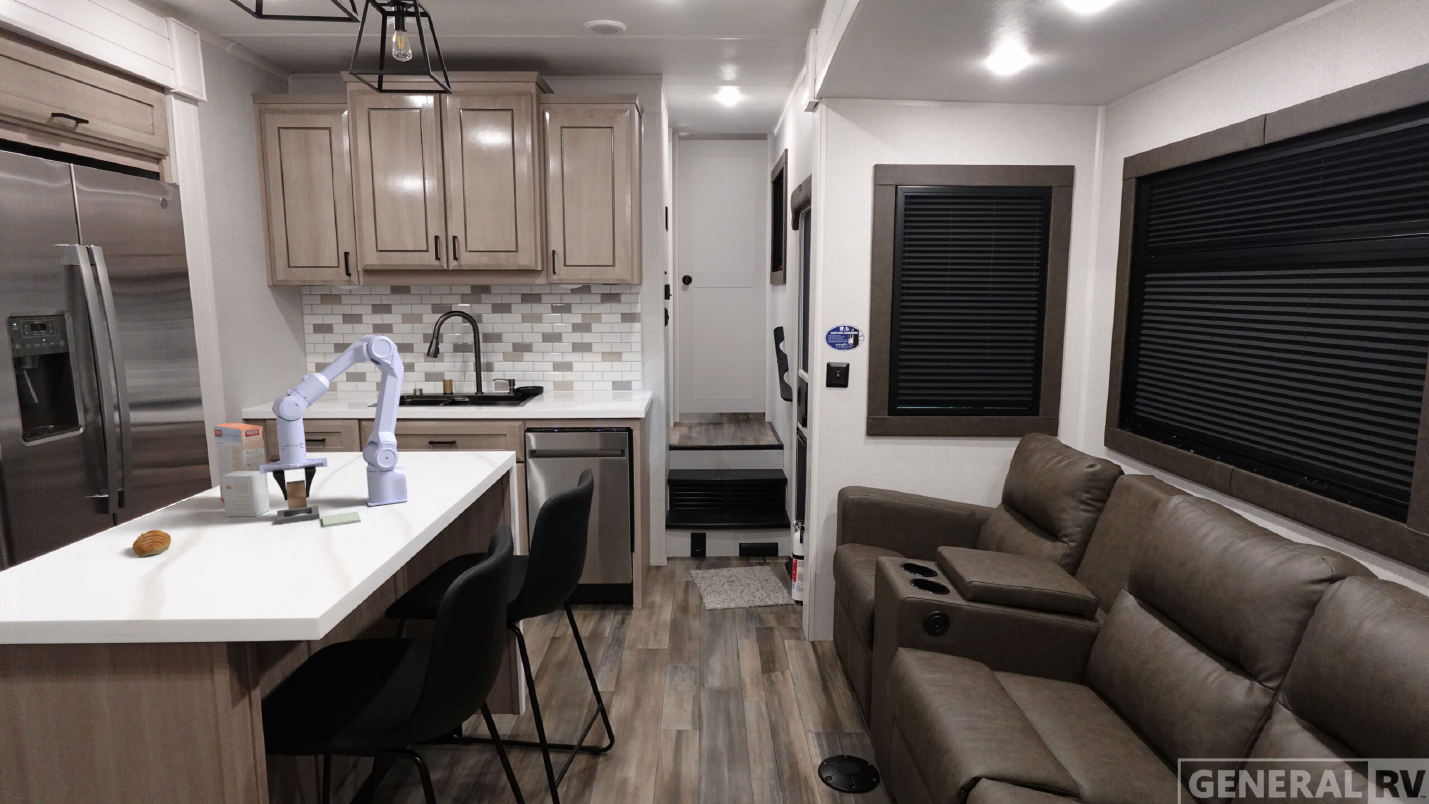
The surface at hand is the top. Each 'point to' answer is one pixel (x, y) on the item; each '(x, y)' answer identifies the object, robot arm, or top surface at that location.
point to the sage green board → (340, 519)
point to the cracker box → (238, 449)
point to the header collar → (282, 519)
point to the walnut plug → (296, 494)
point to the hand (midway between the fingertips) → (296, 498)
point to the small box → (245, 493)
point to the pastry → (152, 543)
